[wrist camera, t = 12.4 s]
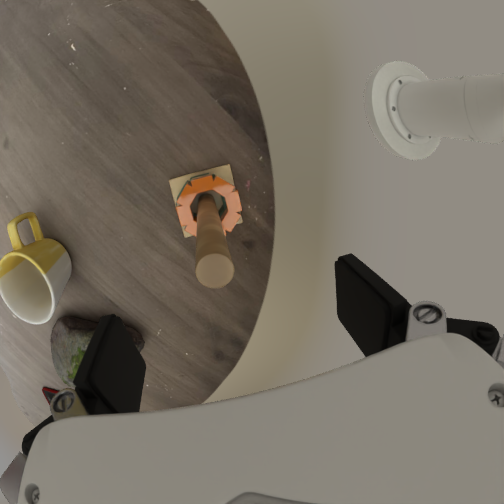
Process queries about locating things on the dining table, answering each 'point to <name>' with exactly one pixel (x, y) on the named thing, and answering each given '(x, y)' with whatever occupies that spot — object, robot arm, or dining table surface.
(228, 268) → the post
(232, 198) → the orange ring
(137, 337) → the stone
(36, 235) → the mug
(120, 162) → the dining table surface
